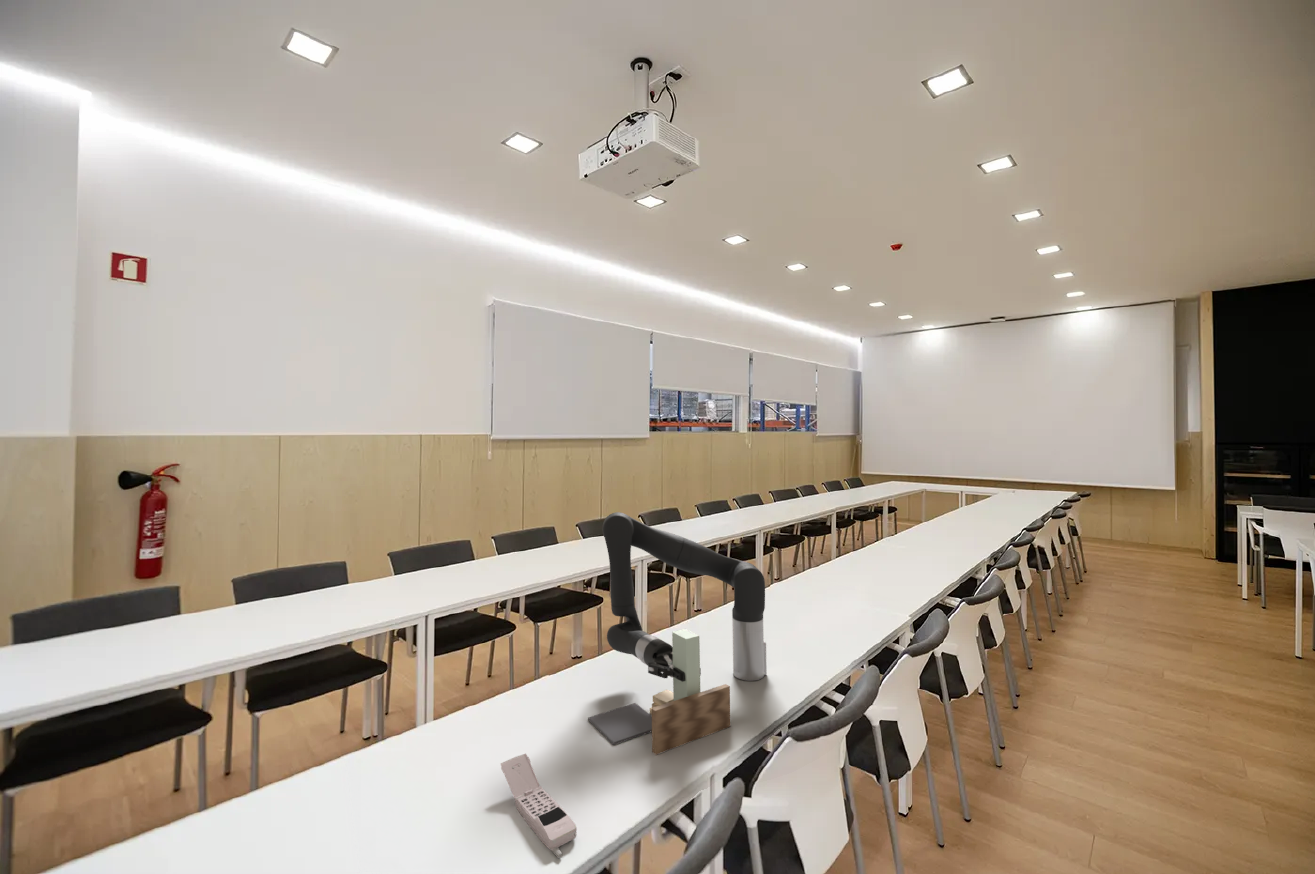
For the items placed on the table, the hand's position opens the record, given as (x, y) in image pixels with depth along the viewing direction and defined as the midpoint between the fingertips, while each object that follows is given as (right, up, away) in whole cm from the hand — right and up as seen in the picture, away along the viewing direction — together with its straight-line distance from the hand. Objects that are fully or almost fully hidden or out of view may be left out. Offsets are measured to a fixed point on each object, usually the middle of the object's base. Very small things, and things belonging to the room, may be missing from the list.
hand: (691, 674), depth 136 cm
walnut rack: (-2, -14, -1) cm, 14 cm away
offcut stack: (-6, -14, +9) cm, 18 cm away
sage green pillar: (-1, -13, +2) cm, 13 cm away
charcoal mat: (-17, -14, +4) cm, 22 cm away
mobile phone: (-31, -15, -30) cm, 46 cm away
